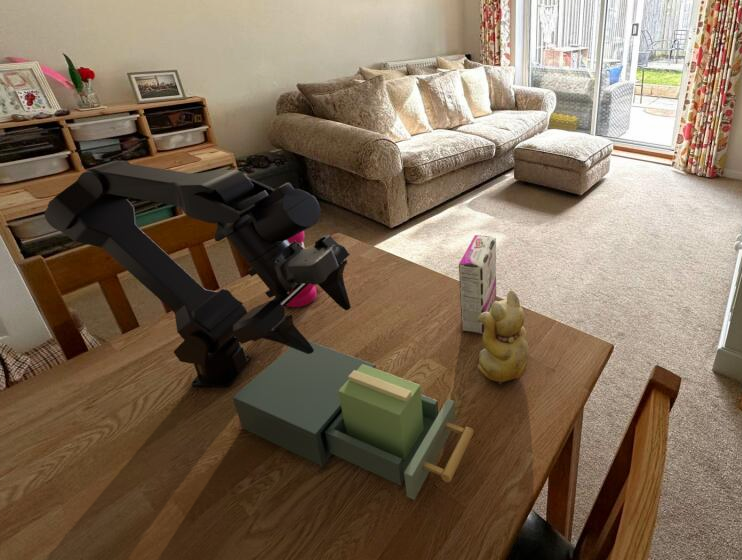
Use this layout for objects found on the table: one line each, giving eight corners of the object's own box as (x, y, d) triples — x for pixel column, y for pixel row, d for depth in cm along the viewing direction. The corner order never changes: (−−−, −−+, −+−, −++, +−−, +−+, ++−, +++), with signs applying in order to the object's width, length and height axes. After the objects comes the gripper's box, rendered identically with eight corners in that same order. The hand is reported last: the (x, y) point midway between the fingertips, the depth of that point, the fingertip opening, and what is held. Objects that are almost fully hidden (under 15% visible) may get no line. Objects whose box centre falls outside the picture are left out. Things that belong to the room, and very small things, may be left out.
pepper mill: (309, 309, 86) (293, 227, 79) (276, 308, 86) (256, 226, 79) (324, 288, 93) (310, 211, 86) (293, 287, 93) (276, 210, 86)
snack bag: (404, 461, 56) (398, 410, 52) (346, 435, 59) (337, 386, 55) (424, 429, 60) (420, 380, 56) (368, 406, 63) (361, 359, 60)
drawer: (480, 432, 61) (480, 410, 59) (442, 513, 51) (441, 489, 49) (377, 393, 67) (374, 371, 65) (325, 459, 57) (320, 435, 55)
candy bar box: (475, 296, 92) (474, 233, 86) (496, 299, 91) (497, 236, 85) (459, 331, 81) (457, 262, 75) (483, 335, 81) (483, 266, 74)
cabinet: (379, 394, 68) (375, 364, 65) (322, 466, 57) (315, 434, 54) (307, 366, 73) (301, 337, 70) (242, 428, 62) (232, 397, 59)
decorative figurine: (503, 342, 79) (505, 278, 73) (539, 362, 75) (543, 296, 69) (471, 375, 72) (470, 307, 66) (508, 400, 67) (511, 329, 62)
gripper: (248, 272, 48) (327, 367, 51) (342, 201, 64) (397, 277, 68) (196, 298, 52) (273, 384, 56) (298, 225, 68) (352, 295, 72)
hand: (331, 329), depth 63 cm, fingers open, 9 cm apart
